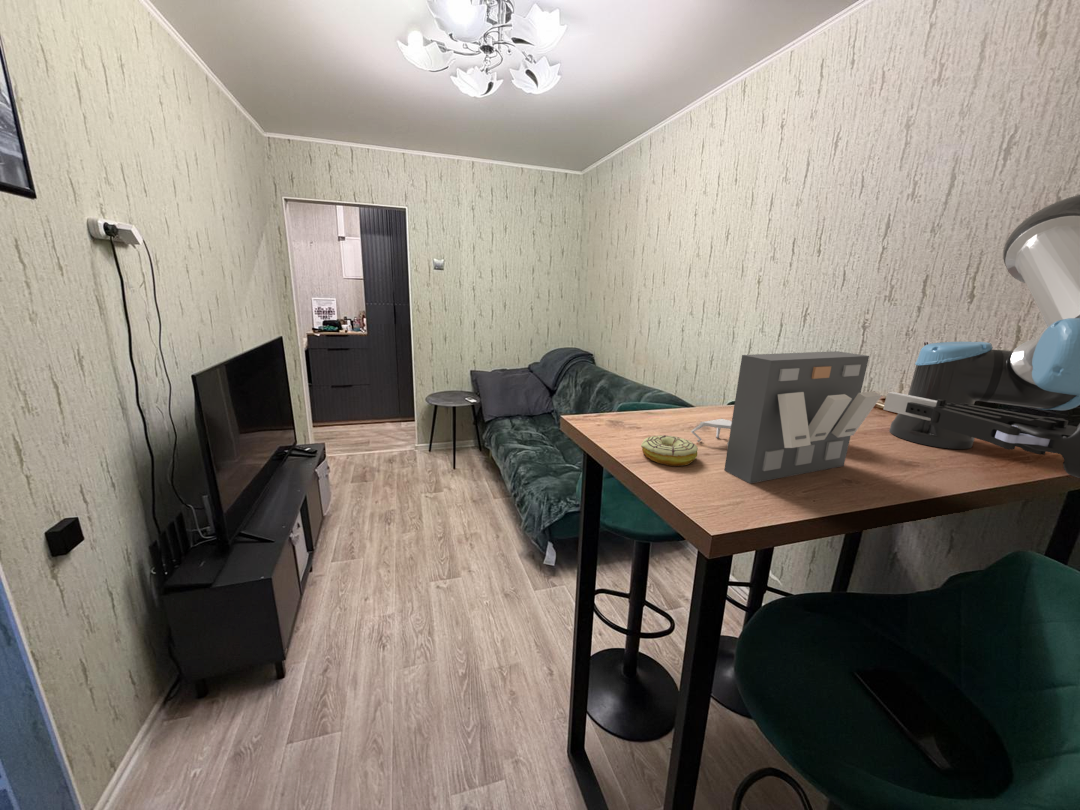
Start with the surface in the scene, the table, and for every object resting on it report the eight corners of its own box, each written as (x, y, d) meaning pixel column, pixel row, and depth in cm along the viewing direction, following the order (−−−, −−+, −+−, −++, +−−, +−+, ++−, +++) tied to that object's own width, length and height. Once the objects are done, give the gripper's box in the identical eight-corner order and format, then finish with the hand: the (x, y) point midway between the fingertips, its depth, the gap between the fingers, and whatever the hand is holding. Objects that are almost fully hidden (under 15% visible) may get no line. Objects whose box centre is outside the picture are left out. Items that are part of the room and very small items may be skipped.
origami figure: (729, 435, 102) (732, 415, 101) (752, 448, 95) (756, 426, 93) (683, 437, 100) (685, 417, 99) (703, 450, 92) (706, 428, 91)
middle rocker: (825, 440, 78) (852, 399, 73) (808, 442, 77) (835, 400, 72) (818, 434, 79) (844, 394, 74) (801, 437, 78) (827, 395, 73)
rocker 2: (854, 435, 81) (882, 396, 76) (838, 438, 80) (866, 397, 75) (846, 430, 82) (874, 391, 77) (831, 432, 81) (858, 392, 76)
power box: (845, 466, 85) (871, 356, 80) (751, 484, 76) (773, 360, 70) (815, 455, 91) (837, 351, 85) (724, 470, 82) (742, 355, 76)
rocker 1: (811, 445, 72) (804, 391, 73) (793, 447, 71) (785, 393, 71) (803, 445, 74) (796, 392, 74) (784, 447, 72) (777, 394, 73)
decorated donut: (663, 445, 95) (665, 429, 94) (706, 462, 86) (709, 444, 85) (630, 454, 89) (632, 437, 88) (673, 473, 80) (675, 454, 79)
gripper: (1094, 497, 44) (854, 427, 65) (1146, 480, 48) (907, 420, 70) (1123, 426, 42) (866, 378, 63) (1174, 416, 47) (920, 374, 68)
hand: (888, 400), depth 66 cm, fingers closed
